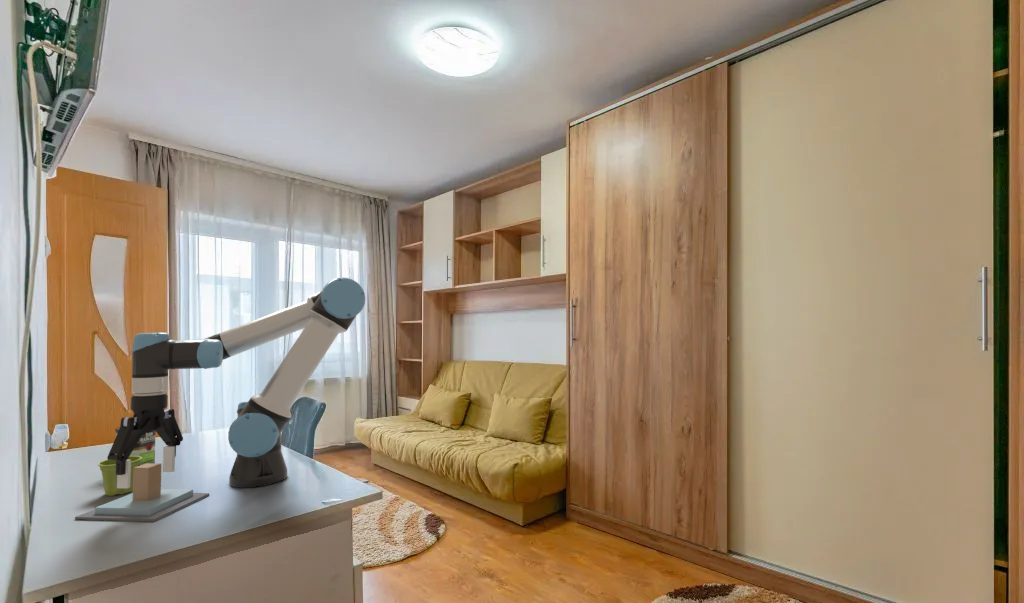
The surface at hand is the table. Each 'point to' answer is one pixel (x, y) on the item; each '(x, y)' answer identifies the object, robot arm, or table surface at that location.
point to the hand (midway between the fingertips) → (147, 479)
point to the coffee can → (144, 447)
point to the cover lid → (145, 494)
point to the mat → (149, 518)
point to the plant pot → (111, 478)
